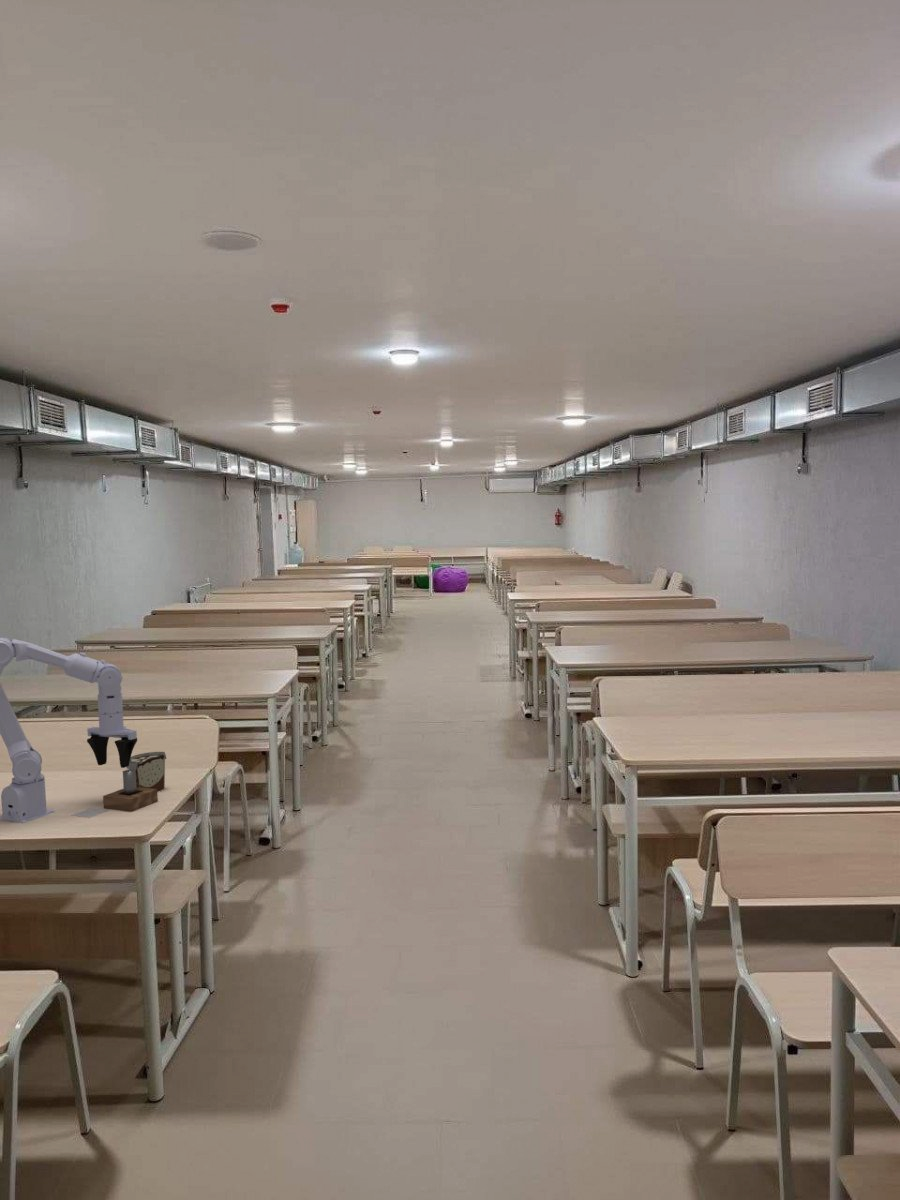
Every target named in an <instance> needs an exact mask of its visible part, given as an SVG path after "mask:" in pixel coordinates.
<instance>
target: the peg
mask: <svg viewBox="0 0 900 1200" xmlns="http://www.w3.org/2000/svg"><path fill="white" fill-rule="evenodd" d="M122 782H123V789H124V795H128V796H131V795H134V794H137V789H136V770H134V769H124V770H123V771H122Z"/></svg>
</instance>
